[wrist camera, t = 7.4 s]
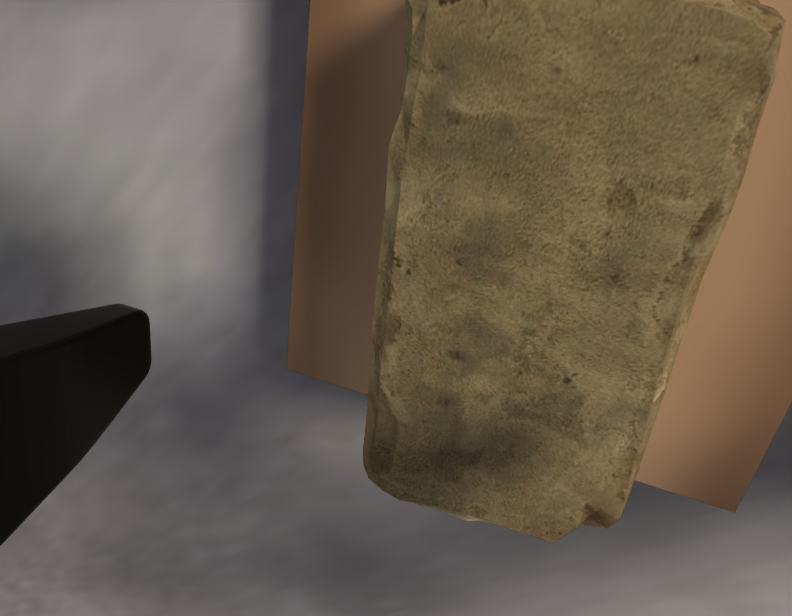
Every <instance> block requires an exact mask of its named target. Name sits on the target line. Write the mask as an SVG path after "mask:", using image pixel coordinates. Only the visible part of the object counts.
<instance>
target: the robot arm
mask: <svg viewBox="0 0 792 616" xmlns="http://www.w3.org/2000/svg"><path fill="white" fill-rule="evenodd" d="M150 366H151V341H150V322H149V318H148V315H147V314H146V313H145V312H144V311H143V310H140V309H137V308H133V307H130V306H127V305H124V304H112V305H107V306H102V307H96V308H91V309H86V310H80V311H75V312H69V313H64V314H59V315H53V316H48V317H43V318H37V319H32V320H27V321H21V322H16V323H11V324H5V325H0V546H1V545H2V544H3V543H4V542H5V541H6V540H7V539H8V537H9V536H10V535H11V534H12V533H13V532H14V531H15V530H16V529H17V528H18V527H19V526H20V525H21V524H22V523H23V522H24V521H25V519H26V518H27V517H28V516H29V515H30V514H31V513H32V512H33V511H34V510H35V509H36V508H37V507H38V506H39V505H40V504H41V503H42V501H43V500H44V499H45V498H46V497H47V496H48V495H49V494H50V493H51V492H52V491H53V490H54V489H55V488H56V487H57V486H58V485H59V483H60V482H61V481H62V480H63V479H64V478H65V477H66V476H67V475H68V474H69V473H70V472H71V471H72V470H73V468H74V467H75V466H76V465H77V464H78V463H79V462H80V461H81V460H82V458H83V457H84V456H85V455H86V454H87V452H88V451H89V450H90V449H91V448H92V446H93V445H94V444H95V443H96V441H97V440H98V439H99V437H100V436H101V435H102V433H103V432H104V431H105V430H106V428H107V427H108V426H109V424H110V423H111V422H112V420H113V419H114V418H115V417H116V415H117V414H118V413H119V411H120V410H121V409H122V407H123V406H124V405H125V404H126V402H127V401H128V400H129V398H130V397H131V396H132V394H133V393H134V392H135V391H136V389H137V388H138V387H139V385H140V384H141V383H142V381H143V380H144V379H145V377H146V376H147V374H148V372H149V369H150Z"/></svg>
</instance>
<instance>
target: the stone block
mask: <svg viewBox="0 0 792 616" xmlns="http://www.w3.org/2000/svg"><path fill="white" fill-rule="evenodd" d="M785 22H786V21H785V20H784V19H783V17H782V16H781V15H780V14H779V12H778V11H777V10H776V9H775V8H773V7H770V6H766V5H763V4H760V2H759V0H405V59H404V74H403V83H402V92H401V101H400V106H399V112H398V118H397V122H396V125H395V128H394V131H393V134H392V136H391V139H390V142H389V149H388V168H387V185H386V200H385V215H384V222H383V230H382V238H381V245H380V255H379V264H378V273H377V283H376V293H375V302H374V313H373V323H372V334H371V345H370V357H369V374H368V409H367V418H366V428H365V437H364V446H363V462H364V467H365V470H366V472H367V475H368V478H369V479H370V480H371V481H373V482H374V483H375V484H376V485H377V486H379V487H380V488H381V489H382V490H383V491H385V492H387V493H388V494H390V495H392V496H394V497H395V498H397V499H399V500H402V501H409V502H413V503H415V504H418V505H421V506H426V507H431V508H436V509H438V510H440V511H442V512H445V513H447V514H449V515H452V516H455V517H457V518H460V519H462V520H465V521H484V522H488V523H493V524H498V525H501V526H503V527H506V528H509V529H511V530H514V531H517V532H521V533H525V534H528V535H532V536H535V537H538V538H540V539H543V540H546V541H549V542H552V543H553V542H555V541H557V540H558V539H560V538H561V537H563V536H565V535H566V534H568V533H569V532H571V531H572V530H574V529H576V528H577V527H578V526H579V525H586V526H599V527H601V526H604V527H606V528H608V527H609V526H611V525H612V524H613V523H615V522H616V521H618V520H619V519H620V517H621V515H622V513H623V510H624V508H625V505H626V503H627V501H628V498H629V495H630V493H631V490H632V487H633V484H634V482H635V479H636V476H637V473H638V470H639V467H640V464H641V461H642V458H643V455H644V452H645V449H646V446H647V444H648V441H649V438H650V435H651V433H652V430H653V427H654V424H655V421H656V418H657V415H658V412H659V408H660V405H661V402H662V399H663V396H664V393H665V390H666V387H667V384H668V381H669V378H670V375H671V372H672V369H673V365H674V362H675V359H676V356H677V353H678V349H679V346H680V343H681V340H682V337H683V334H684V332H685V329H686V326H687V323H688V321H689V318H690V315H691V312H692V309H693V306H694V303H695V300H696V296H697V293H698V290H699V287H700V284H701V280H702V277H703V275H704V273H705V271H706V268H707V266H708V264H709V262H710V259H711V257H712V255H713V253H714V250H715V248H716V246H717V244H718V241H719V239H720V237H721V234H722V232H723V230H724V227H725V225H726V223H727V221H728V218H729V216H730V214H731V211H732V209H733V206H734V203H735V200H736V198H737V195H738V192H739V189H740V186H741V183H742V181H743V178H744V175H745V172H746V169H747V165H748V161H749V158H750V154H751V150H752V147H753V143H754V139H755V136H756V132H757V129H758V126H759V123H760V120H761V117H762V114H763V111H764V108H765V105H766V102H767V100H768V97H769V94H770V91H771V88H772V85H773V82H774V80H775V77H776V74H777V71H778V68H779V60H778V54H779V50H780V45H781V40H782V36H783V31H784V27H785Z"/></svg>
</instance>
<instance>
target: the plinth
mask: <svg viewBox="0 0 792 616" xmlns="http://www.w3.org/2000/svg"><path fill="white" fill-rule="evenodd" d="M759 2H760V4H763V5H766V6H770V7H773V8H775V9H776V10H777V11H778V12H779V14H780V15H781V16H782V17H783V19H784V20H785V21H786V22H785V27H784V31H783V36H782V40H781V45H780V50H779V54H778V60H779V68H778V71H777V74H776V77H775V80H774V82H773V85H772V88H771V91H770V94H769V97H768V100H767V102H766V105H765V108H764V111H763V114H762V117H761V120H760V123H759V126H758V129H757V132H756V136H755V139H754V143H753V147H752V150H751V154H750V158H749V161H748V165H747V169H746V172H745V175H744V178H743V181H742V183H741V186H740V189H739V192H738V195H737V198H736V200H735V203H734V206H733V209H732V211H731V214H730V216H729V218H728V221H727V223H726V225H725V227H724V230H723V232H722V234H721V237H720V239H719V241H718V244H717V246H716V248H715V250H714V253H713V255H712V257H711V259H710V262H709V264H708V266H707V268H706V271H705V273H704V275H703V277H702V280H701V284H700V287H699V290H698V293H697V296H696V300H695V303H694V306H693V309H692V312H691V315H690V318H689V321H688V323H687V326H686V329H685V332H684V334H683V337H682V340H681V343H680V346H679V349H678V353H677V356H676V359H675V362H674V365H673V369H672V372H671V375H670V378H669V381H668V384H667V387H666V390H665V393H664V396H663V399H662V402H661V405H660V408H659V412H658V415H657V418H656V421H655V424H654V427H653V430H652V433H651V435H650V438H649V441H648V444H647V446H646V449H645V452H644V455H643V458H642V461H641V464H640V467H639V470H638V473H637V476H636V479H635V481H638V482H641V483H644V484H647V485H651V486H654V487H657V488H660V489H663V490H666V491H669V492H673V493H676V494H679V495H682V496H685V497H688V498H691V499H694V500H698V501H701V502H704V503H707V504H710V505H713V506H716V507H719V508H723V509H726V510H729V511H732V512H735V511H736V509H737V507H738V506H739V504H740V502H741V500H742V498H743V496H744V494H745V492H746V490H747V488H748V486H749V484H750V482H751V480H752V478H753V476H754V474H755V472H756V470H757V468H758V467H759V465H760V463H761V461H762V459H763V457H764V455H765V453H766V451H767V449H768V447H769V445H770V443H771V441H772V439H773V437H774V435H775V433H776V431H777V430H778V428H779V426H780V424H781V422H782V420H783V418H784V416H785V414H786V412H787V410H788V408H789V406H790V404H791V402H792V0H759ZM404 59H405V0H310V15H309V30H308V45H307V60H306V76H305V91H304V106H303V121H302V136H301V152H300V167H299V182H298V197H297V212H296V228H295V243H294V258H293V273H292V288H291V304H290V319H289V334H288V349H287V364H286V369H288V370H291V371H294V372H297V373H300V374H303V375H307V376H310V377H313V378H316V379H319V380H322V381H325V382H328V383H332V384H335V385H338V386H341V387H344V388H347V389H350V390H354V391H357V392H360V393H363V394H366V395H368V374H369V357H370V345H371V334H372V323H373V313H374V302H375V293H376V283H377V273H378V264H379V255H380V245H381V238H382V230H383V222H384V215H385V200H386V185H387V168H388V149H389V142H390V139H391V136H392V134H393V131H394V128H395V125H396V122H397V118H398V112H399V106H400V101H401V92H402V83H403V74H404Z"/></svg>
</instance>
